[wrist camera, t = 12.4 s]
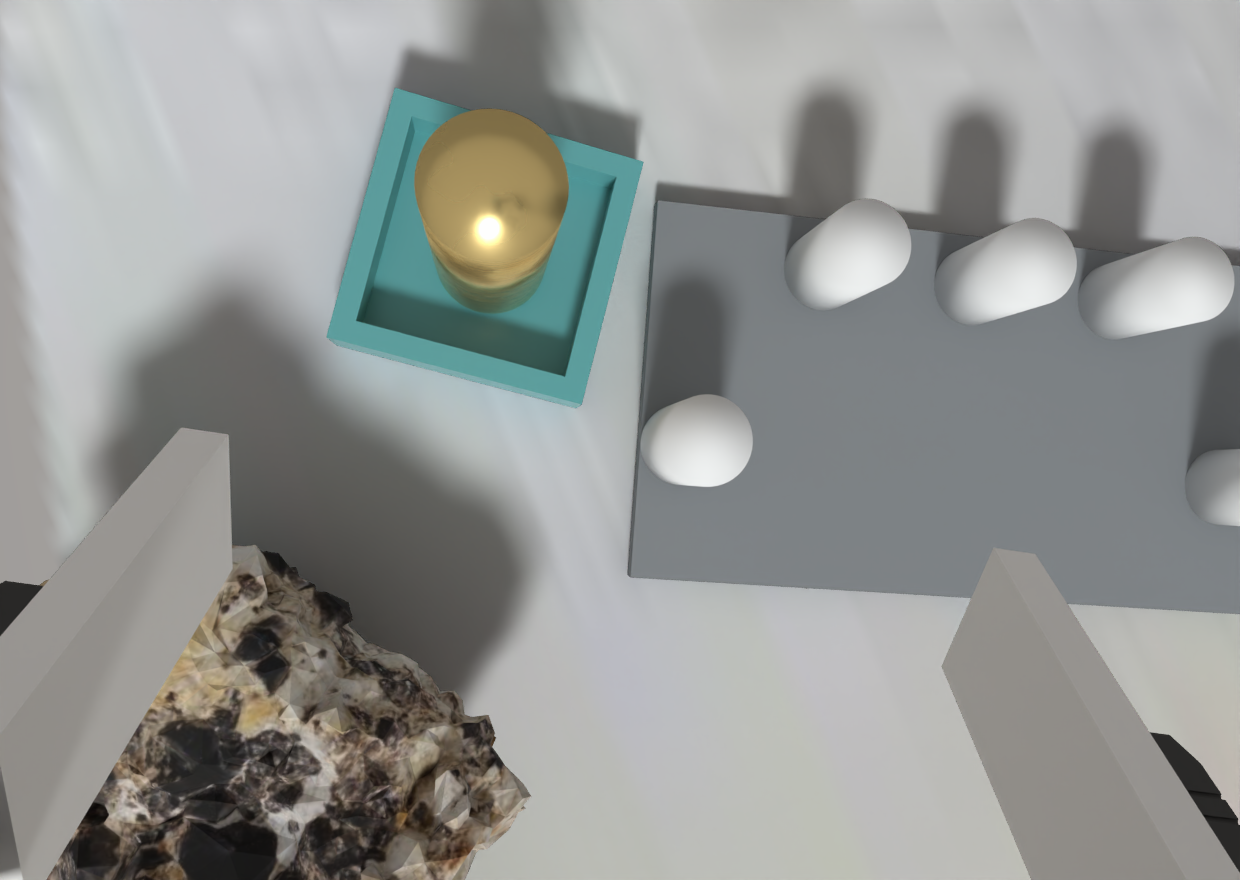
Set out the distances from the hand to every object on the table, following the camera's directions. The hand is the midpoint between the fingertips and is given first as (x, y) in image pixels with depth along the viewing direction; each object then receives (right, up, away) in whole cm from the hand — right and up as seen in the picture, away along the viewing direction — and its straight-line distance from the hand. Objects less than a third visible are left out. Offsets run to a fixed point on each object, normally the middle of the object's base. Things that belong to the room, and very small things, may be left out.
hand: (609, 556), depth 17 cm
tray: (-5, +9, +19) cm, 21 cm away
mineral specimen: (-12, -9, +18) cm, 23 cm away
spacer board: (+13, +3, +21) cm, 25 cm away
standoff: (-5, +9, +18) cm, 21 cm away
